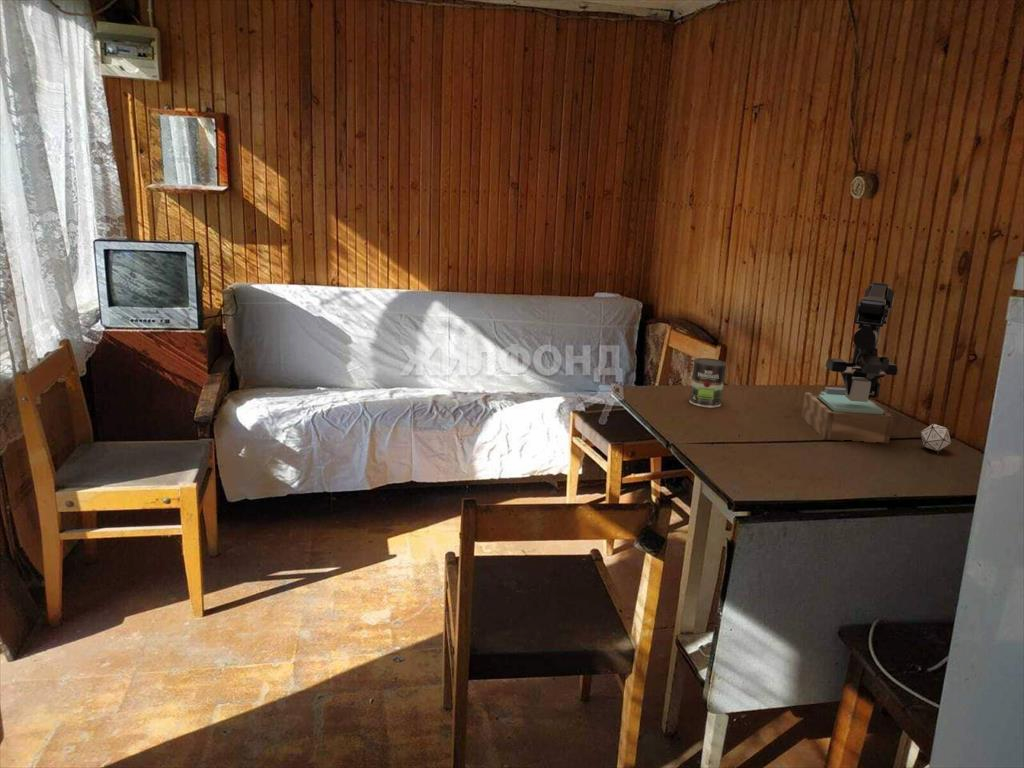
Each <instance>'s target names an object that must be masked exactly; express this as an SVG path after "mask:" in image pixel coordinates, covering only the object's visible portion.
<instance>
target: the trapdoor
mask: <svg viewBox="0 0 1024 768" xmlns="http://www.w3.org/2000/svg"><path fill="white" fill-rule="evenodd" d="M845 393H846V388H845V387H832V386H831V387H830V386H825V387H824V391H820V394H818V396H819V397H818V398H819V399H820V400H821V401H823V402H824V403H825V404H826V405H827V406H828V407H830V408H831V409H832V410H833V411H834V412H851V413H867V414H883V412H884V411H883V410H884V409H883V410H881V409H880V408H879V407H880V406H879V407H877V406H876V405H877V404H876V405H874V404H873V403H872V402H873V401H872V402H870V401H869V400H868V402H860V401H850V400H849V399H848V398H847V397H845Z"/></svg>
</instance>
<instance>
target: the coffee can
mask: <svg viewBox="0 0 1024 768" xmlns="http://www.w3.org/2000/svg"><path fill="white" fill-rule="evenodd" d="M727 364H728V363H727V362H725V361H723V360H720V359H715V358H710V357H709V358H707V357H701V358H700V357H698V358H695V359H694V360H693V370H692V377H691V385H690V392H689V393H690V394H689V400H688V402H689V403H690V404H691V405H694V406H697V407H700V408H707V409H708V408H709V409H711V408H712V409H713V408H719V407H721V406H722V398H723V390H724V384H725V383H724V382H725V375H726V367H727Z"/></svg>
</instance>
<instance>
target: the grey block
mask: <svg viewBox="0 0 1024 768" xmlns="http://www.w3.org/2000/svg"><path fill="white" fill-rule="evenodd" d="M870 386H871V382H870V381H869V380H867V379H866V378H861V377H852V381H851V390H850V394H849V395H848V394H847V393H845V397H847V398H848V399H849V400H850V401H860V402H868V397H869V392H870Z"/></svg>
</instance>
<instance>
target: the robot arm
mask: <svg viewBox="0 0 1024 768" xmlns="http://www.w3.org/2000/svg"><path fill="white" fill-rule="evenodd" d="M894 300H895V292H894V291H893V290H892V289H891V288H890V283H889V284H888V283H886V282H877V281H875V282H871V283H870V286H868V287H867V288H866V289H864V293H863V297H862V298H861V299H860V301H858V303H857V306H856V307H857V308H856V311H855V315H854V320H853V324H856V325H857V324H858V326H857V329H856V331H855V333H854V334H853V337H852V338H853V339H852V341H853V344H852V348H853V352H852V353H853V354H852V357H850V361H849V362H848V361H846V360H844V359H842V358H836V357H835V358H834V357H833V358H832V357H829V358H828V359H827V360H826V363H825V368H827V369H828V370H830V371H831V372H836V373H840V375H841V378H842V380H843V383H844V384H843V385H844V388H846V393H847V394H848V395H849V394H850V390H851V381H852V377H861V378H866V379H867V380H869V381H870V382H871V386H870V392H869V397H868V399H869V400H871V401H872V399H876V398H879V395H880V388H881V384H880V382H879V379H881V378H885V377H886V375H887V376H898V373H899V367H898V365H897V364H895V363H893V362H891V361H890V358H889V357H888V356H881V357H880V356H878V354H879V353H878V351H879V350H878V343H879V339H880V334H881V328H883V327H884V325H886V324H887V321H888V317H889V313H890V309H891V310H892V309H893V305H894ZM853 370H854V371H853ZM885 374H886V375H885Z"/></svg>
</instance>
